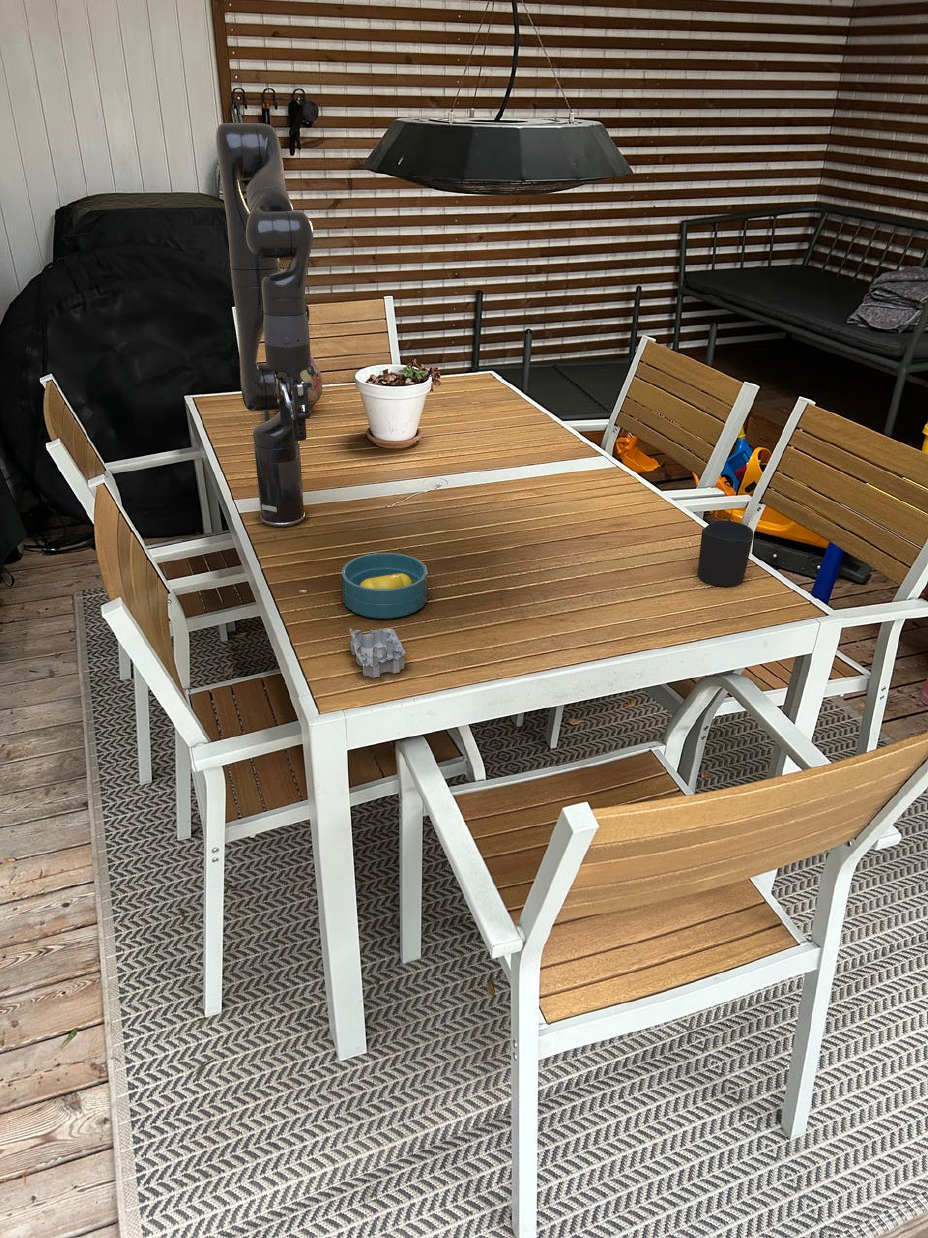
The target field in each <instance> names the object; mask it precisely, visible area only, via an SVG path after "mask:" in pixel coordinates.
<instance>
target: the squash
mask: <svg viewBox="0 0 928 1238" xmlns="http://www.w3.org/2000/svg"><path fill="white" fill-rule="evenodd" d="M416 581H417V580H416V579H412V580H411V579H410V577H409V576H407V575H406V574H403V573H398V574H392V575H386V576H380V577H374V578H369V579H366V580H364V581H363V582H362V583H361V584H360V586H362V587H365V588H372V589H394V588H400V587H405V586H408V585H411V584H413V583H415V582H416Z"/></svg>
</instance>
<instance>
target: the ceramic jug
mask: <svg viewBox="0 0 928 1238" xmlns="http://www.w3.org/2000/svg"><path fill="white" fill-rule="evenodd" d="M306 312H307V319H308V323H309V320H310V308H309V306H308V305H307V304H306ZM310 355H311V366H310V368H308V369H307V370H303V371H302V372H301V373H300V376H301V380H303V381H304V383H307V386H308V402H309V413H310V415H311V414H312V411H313V409H314V407H315V406H316V404H317V403H318V402H319V400H320V398H321V396H322V394H323V378H322V373H321V370H320V368H319V366H318V363H317V362H316V360H315V358H314V357H313V355H312V353H311V352H310ZM279 411H280V410H278V412H279ZM298 412H302V411H301V408H300V407H298Z"/></svg>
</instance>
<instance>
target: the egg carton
mask: <svg viewBox="0 0 928 1238" xmlns="http://www.w3.org/2000/svg"><path fill="white" fill-rule="evenodd" d="M348 632H349V633H350V636H351V640H350V644H349V646H350V651H351V655H352V656H355V660H356V663H357V664H358V666H360V667H361V666H362V675H363V676H364V677H370V678H381V677H380V675H381V674H383V673H392V674H398V673H400V672H401V670H404V669H405V654H407V651H406V650H404V647H403V644H402V642H401V641H400V639H399V638H398V635H397V634H396V631H395V630H394V628H379V630H373V629H370V630H369V633H367V634H364V633H363V632H362V630H361V629H355V630H353V629H352V627H349V629H348Z"/></svg>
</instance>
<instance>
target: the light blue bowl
mask: <svg viewBox="0 0 928 1238" xmlns="http://www.w3.org/2000/svg"><path fill="white" fill-rule="evenodd" d="M398 573H403V574H406V575H407V576H409V577H410V579H411V580H412V579H416V580H417V581H416V582H415V583H413V584H411V585H408V586H405V587H400V588H394V589H372V588H365V587H362V586H360V584H361V583H362V582H363V581H364V580H366V579H369V578H374V577H380V576H386V575H392V574H398ZM341 592H342V594H341V595H342V602H343V604H344V606H345V608H347V609H349V611H351V612H352V613H355V614H356V615H359V616H362V617H366V618H369V619H375V620H376V619H378V620H391V619H392V620H393V619H398V618H403V617H406V616H410V615H411V614H413V613H415V612H417V611H419V610H420V609H421V608H423V607H424V606H425V605H426V603H427V601H428V567H427V566H426V565H425V563H424V561H421V560H420V559H418V558H416V557H414V556H410V555H407V554H404V553H396V552H374V553H367V554H363V555H360V556H358V557H355V558H353V559H351V560H349V561H347V562H346V563H345V564H344V566H342V568H341Z"/></svg>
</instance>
